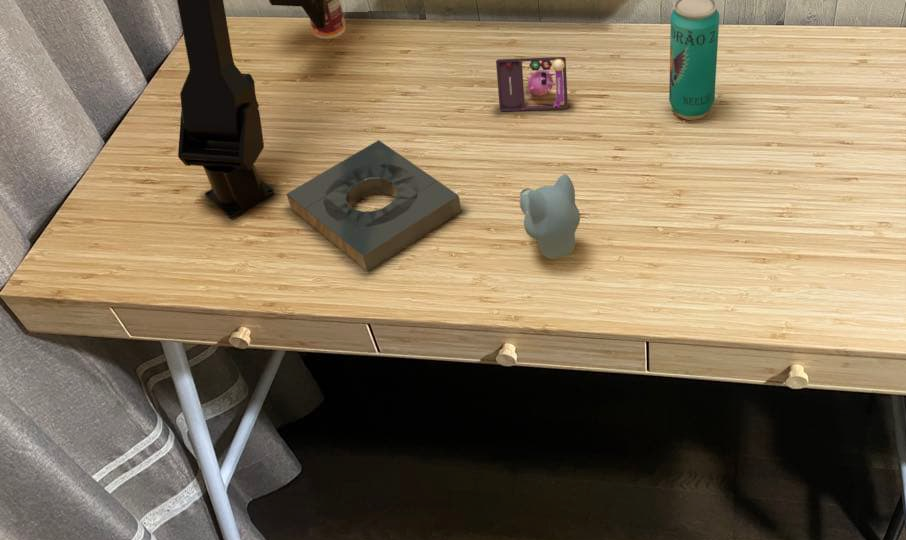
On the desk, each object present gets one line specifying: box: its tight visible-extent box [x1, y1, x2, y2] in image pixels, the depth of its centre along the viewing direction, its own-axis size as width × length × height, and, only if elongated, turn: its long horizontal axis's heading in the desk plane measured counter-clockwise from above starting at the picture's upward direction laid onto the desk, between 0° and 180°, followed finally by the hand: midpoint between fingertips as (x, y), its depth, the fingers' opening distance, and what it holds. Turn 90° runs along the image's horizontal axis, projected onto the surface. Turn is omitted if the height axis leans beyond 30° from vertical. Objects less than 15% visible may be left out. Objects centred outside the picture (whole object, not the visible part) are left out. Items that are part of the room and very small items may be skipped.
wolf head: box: [519, 173, 581, 260], centre depth 112 cm, size 6×9×10 cm
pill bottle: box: [309, 0, 347, 40], centre depth 144 cm, size 5×5×8 cm
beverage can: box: [668, 0, 720, 121], centre depth 125 cm, size 6×6×15 cm
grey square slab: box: [285, 140, 462, 272], centre depth 121 cm, size 16×14×2 cm
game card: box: [495, 56, 569, 112], centre depth 133 cm, size 7×5×9 cm
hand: (326, 18), depth 145 cm, fingers closed on pill bottle, 5 cm apart
